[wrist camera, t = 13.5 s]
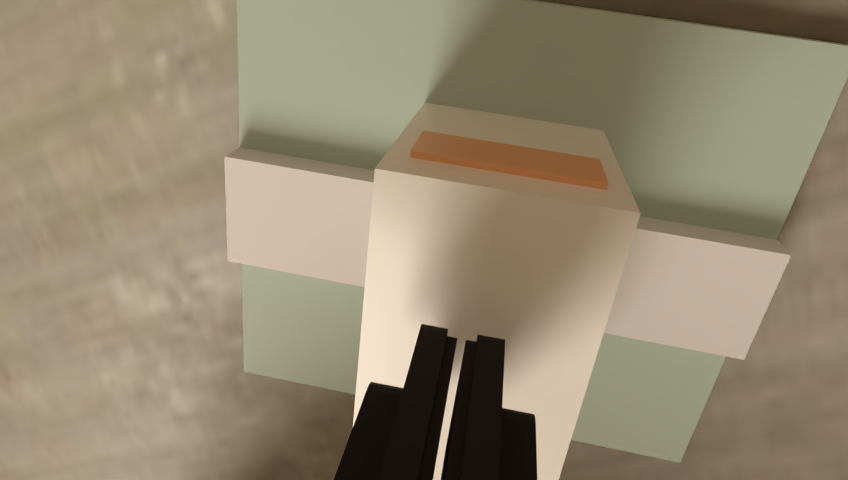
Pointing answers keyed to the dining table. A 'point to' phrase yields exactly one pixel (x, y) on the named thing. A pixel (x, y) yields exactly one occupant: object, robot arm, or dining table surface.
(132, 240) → the dining table surface
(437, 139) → the block
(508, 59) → the rail board
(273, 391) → the dining table surface
